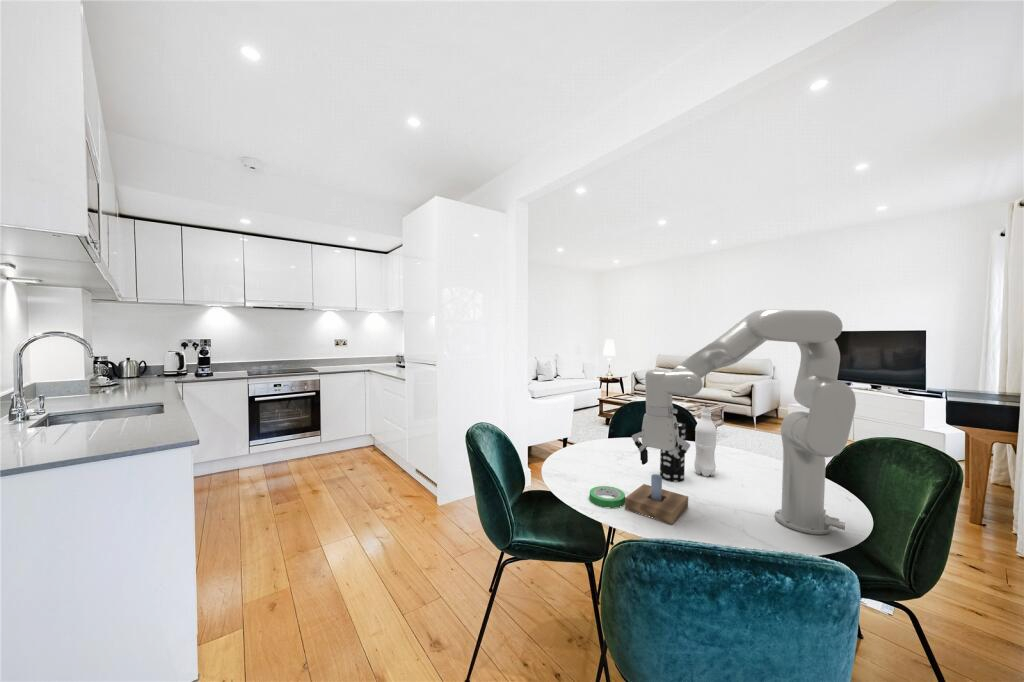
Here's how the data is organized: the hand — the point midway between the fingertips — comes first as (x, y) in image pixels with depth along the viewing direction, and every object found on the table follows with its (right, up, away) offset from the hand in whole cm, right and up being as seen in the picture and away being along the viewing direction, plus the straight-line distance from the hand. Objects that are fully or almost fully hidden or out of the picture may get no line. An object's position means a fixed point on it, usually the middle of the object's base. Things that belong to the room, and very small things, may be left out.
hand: (660, 466), depth 116 cm
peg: (-1, -13, +1) cm, 13 cm away
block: (-1, -13, +1) cm, 13 cm away
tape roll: (-15, -13, +6) cm, 21 cm away
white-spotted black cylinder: (+14, -12, +25) cm, 31 cm away
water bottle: (+28, -12, +28) cm, 42 cm away
